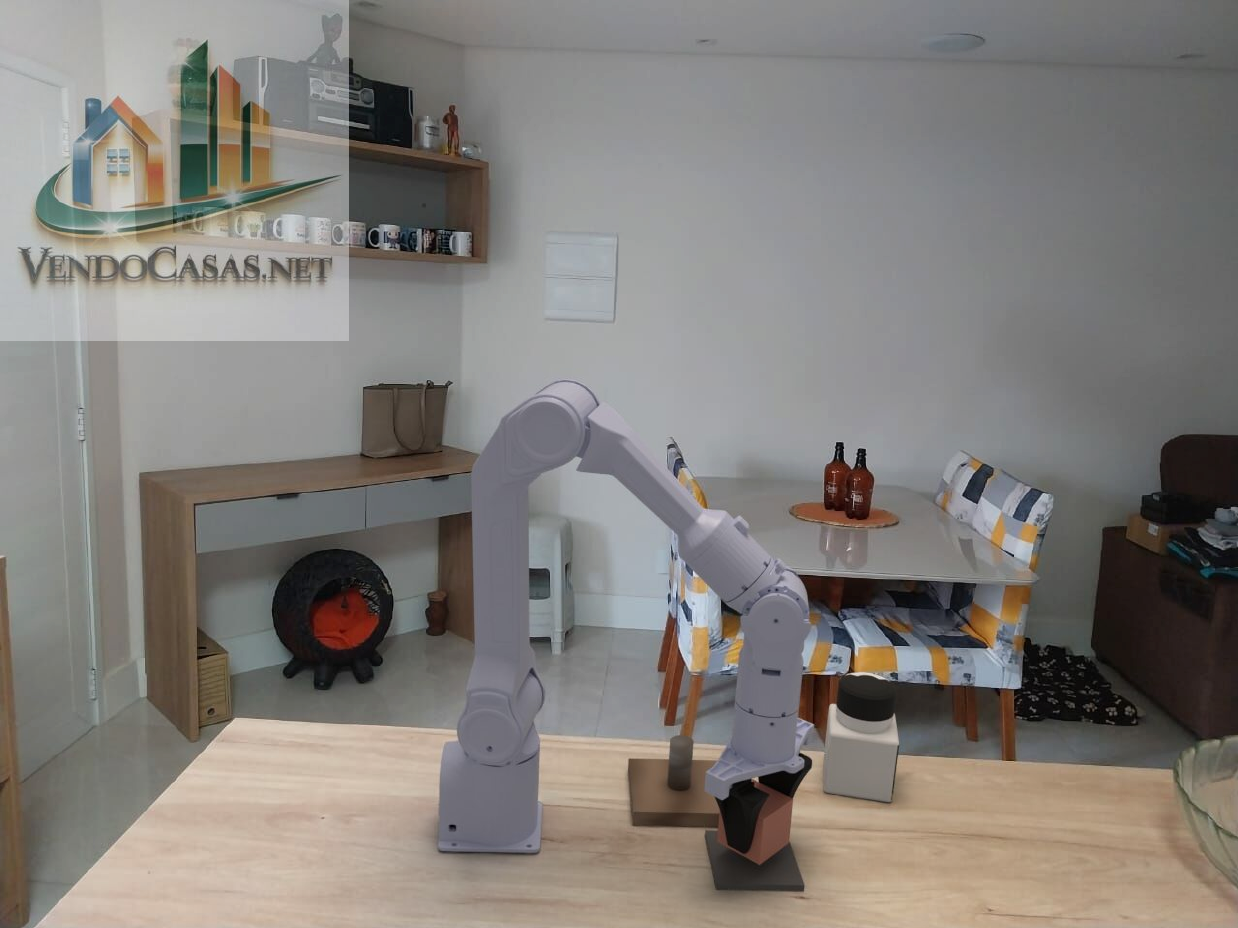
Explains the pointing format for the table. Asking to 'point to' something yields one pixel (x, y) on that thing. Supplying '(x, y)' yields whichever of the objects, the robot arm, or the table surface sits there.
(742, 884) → the mat
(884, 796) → the medicine bottle
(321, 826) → the table surface
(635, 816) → the post block
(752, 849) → the terracotta cube
